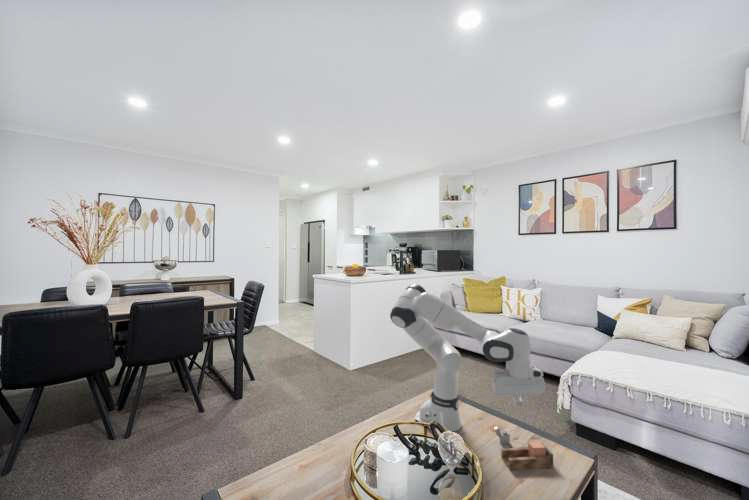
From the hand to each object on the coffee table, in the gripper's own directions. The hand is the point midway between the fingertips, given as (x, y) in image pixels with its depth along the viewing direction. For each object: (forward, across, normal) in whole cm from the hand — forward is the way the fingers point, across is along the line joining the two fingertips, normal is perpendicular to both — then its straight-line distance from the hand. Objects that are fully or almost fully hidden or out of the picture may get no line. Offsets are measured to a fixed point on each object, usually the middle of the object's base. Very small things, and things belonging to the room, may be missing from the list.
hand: (518, 404), depth 123 cm
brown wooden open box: (+22, +2, -2) cm, 22 cm away
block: (+21, +6, -2) cm, 22 cm away
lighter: (+22, -2, +10) cm, 25 cm away
